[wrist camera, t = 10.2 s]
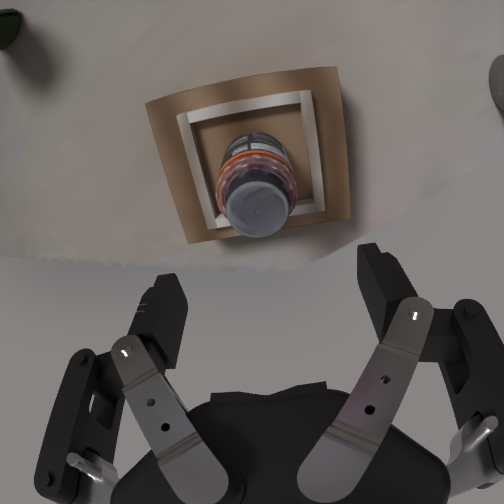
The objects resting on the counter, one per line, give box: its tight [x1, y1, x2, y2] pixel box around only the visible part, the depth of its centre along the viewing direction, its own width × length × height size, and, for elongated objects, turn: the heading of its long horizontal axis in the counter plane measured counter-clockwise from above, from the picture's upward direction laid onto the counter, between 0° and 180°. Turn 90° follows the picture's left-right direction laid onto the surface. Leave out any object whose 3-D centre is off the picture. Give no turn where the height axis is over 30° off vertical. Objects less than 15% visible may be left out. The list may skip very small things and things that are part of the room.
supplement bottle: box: [215, 131, 298, 238], centre depth 24 cm, size 6×6×11 cm
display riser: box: [145, 67, 351, 244], centre depth 30 cm, size 18×16×7 cm
